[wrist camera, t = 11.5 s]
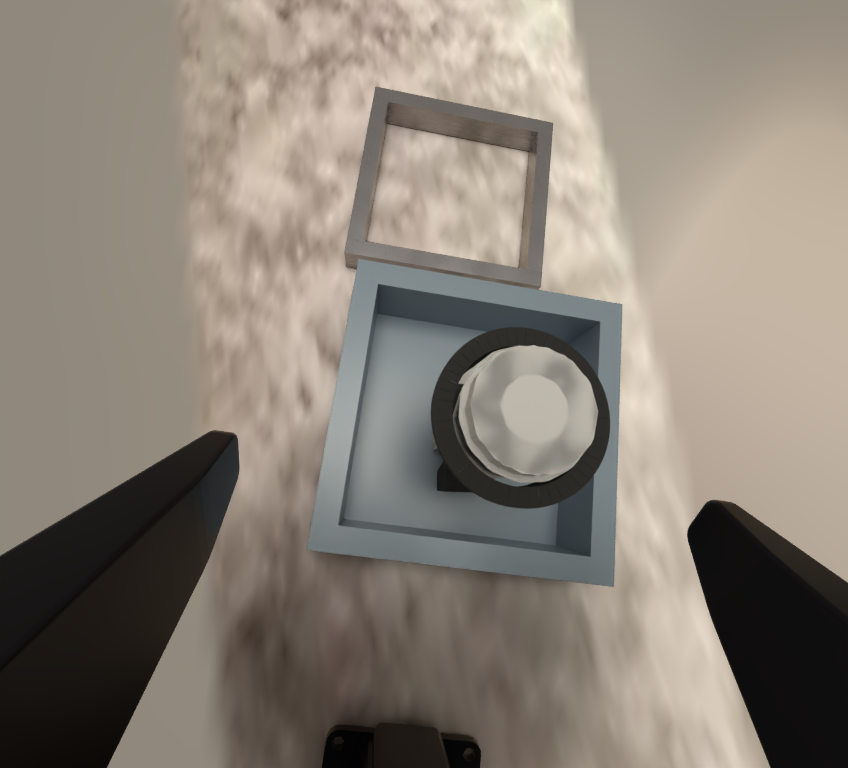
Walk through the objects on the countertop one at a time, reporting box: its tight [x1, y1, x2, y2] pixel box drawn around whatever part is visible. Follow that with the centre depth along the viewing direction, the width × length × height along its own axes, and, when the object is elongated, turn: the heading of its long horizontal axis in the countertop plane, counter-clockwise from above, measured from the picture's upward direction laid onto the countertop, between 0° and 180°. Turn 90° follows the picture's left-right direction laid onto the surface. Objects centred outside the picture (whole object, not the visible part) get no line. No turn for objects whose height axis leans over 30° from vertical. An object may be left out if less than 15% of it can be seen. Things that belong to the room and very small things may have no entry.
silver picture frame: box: [345, 87, 553, 290], centre depth 25 cm, size 10×10×2 cm
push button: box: [431, 327, 610, 509], centre depth 17 cm, size 7×5×10 cm
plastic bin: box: [307, 259, 622, 587], centre depth 21 cm, size 12×12×4 cm
